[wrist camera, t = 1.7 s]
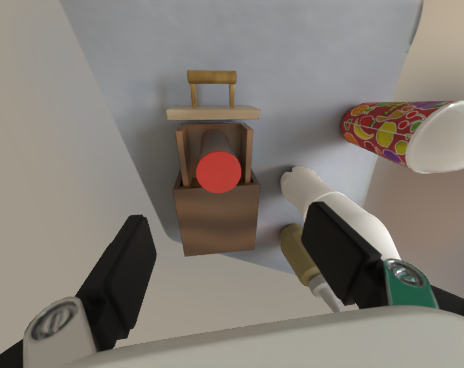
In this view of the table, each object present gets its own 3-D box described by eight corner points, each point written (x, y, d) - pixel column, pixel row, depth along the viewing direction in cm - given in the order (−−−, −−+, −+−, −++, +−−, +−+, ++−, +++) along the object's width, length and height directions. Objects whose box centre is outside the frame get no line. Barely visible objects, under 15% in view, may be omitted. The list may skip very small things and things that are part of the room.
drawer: (170, 73, 24) (158, 66, 18) (250, 74, 25) (263, 68, 20) (185, 179, 32) (180, 199, 26) (245, 176, 33) (254, 195, 27)
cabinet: (180, 166, 32) (172, 189, 24) (248, 163, 33) (260, 184, 25) (189, 224, 38) (184, 256, 30) (245, 219, 39) (254, 249, 32)
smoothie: (383, 96, 30) (627, 100, 13) (368, 143, 34) (538, 196, 17) (339, 98, 30) (532, 106, 12) (328, 146, 33) (462, 205, 16)
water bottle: (274, 194, 37) (371, 341, 15) (279, 163, 34) (412, 293, 12) (305, 192, 38) (440, 329, 16) (313, 162, 35) (496, 281, 13)
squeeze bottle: (298, 245, 46) (346, 326, 30) (270, 242, 44) (306, 327, 28) (311, 221, 42) (374, 298, 26) (282, 217, 40) (330, 297, 25)
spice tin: (199, 128, 27) (193, 152, 16) (228, 128, 28) (242, 150, 17) (201, 156, 29) (198, 194, 18) (228, 155, 30) (240, 191, 19)
